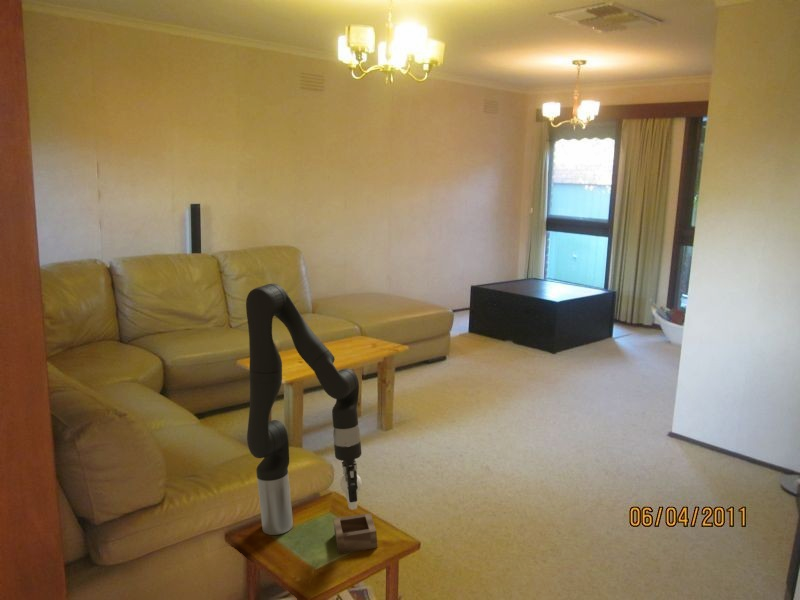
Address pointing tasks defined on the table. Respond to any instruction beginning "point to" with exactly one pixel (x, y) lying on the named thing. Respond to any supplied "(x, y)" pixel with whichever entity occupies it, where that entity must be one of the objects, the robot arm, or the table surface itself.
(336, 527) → the socket block
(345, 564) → the table surface
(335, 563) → the table surface
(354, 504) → the lightbulb
